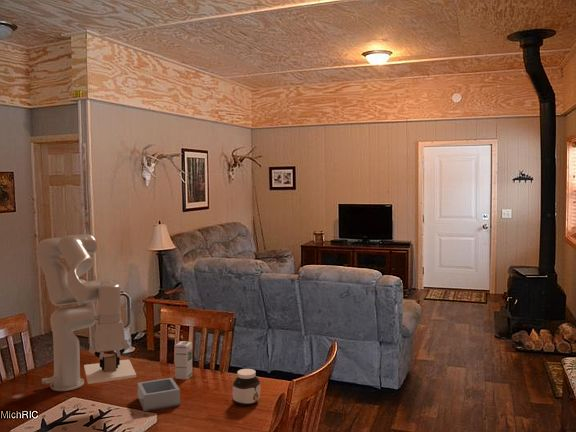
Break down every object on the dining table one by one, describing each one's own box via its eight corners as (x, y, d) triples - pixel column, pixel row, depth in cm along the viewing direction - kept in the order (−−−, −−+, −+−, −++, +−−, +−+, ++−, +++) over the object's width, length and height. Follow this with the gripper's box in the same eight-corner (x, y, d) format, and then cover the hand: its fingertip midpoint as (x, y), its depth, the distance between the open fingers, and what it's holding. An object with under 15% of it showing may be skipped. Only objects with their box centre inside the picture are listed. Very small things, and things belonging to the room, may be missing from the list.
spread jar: (243, 409, 191) (243, 378, 190) (223, 400, 199) (223, 370, 198) (266, 399, 200) (267, 369, 199) (246, 391, 207) (246, 362, 207)
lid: (87, 384, 179) (87, 366, 178) (84, 367, 193) (83, 351, 192) (136, 377, 185) (136, 360, 185) (129, 361, 200) (129, 346, 199)
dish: (144, 411, 188) (143, 395, 188) (137, 398, 200) (137, 382, 200) (180, 405, 194) (180, 389, 194) (171, 392, 206) (171, 377, 205)
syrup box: (187, 379, 219) (187, 345, 218) (174, 378, 220) (174, 344, 219) (193, 374, 225) (192, 341, 224) (180, 373, 226) (179, 340, 225)
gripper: (85, 323, 181) (85, 375, 182) (135, 318, 188) (135, 368, 189) (83, 317, 187) (83, 367, 189) (131, 313, 195) (131, 361, 196)
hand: (109, 367), depth 189 cm, fingers closed on lid, 4 cm apart
